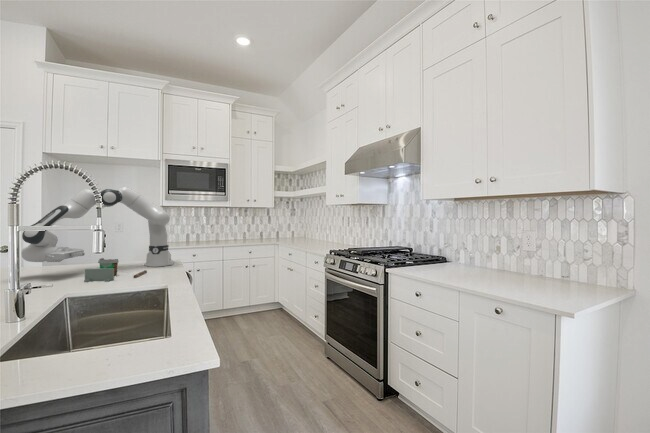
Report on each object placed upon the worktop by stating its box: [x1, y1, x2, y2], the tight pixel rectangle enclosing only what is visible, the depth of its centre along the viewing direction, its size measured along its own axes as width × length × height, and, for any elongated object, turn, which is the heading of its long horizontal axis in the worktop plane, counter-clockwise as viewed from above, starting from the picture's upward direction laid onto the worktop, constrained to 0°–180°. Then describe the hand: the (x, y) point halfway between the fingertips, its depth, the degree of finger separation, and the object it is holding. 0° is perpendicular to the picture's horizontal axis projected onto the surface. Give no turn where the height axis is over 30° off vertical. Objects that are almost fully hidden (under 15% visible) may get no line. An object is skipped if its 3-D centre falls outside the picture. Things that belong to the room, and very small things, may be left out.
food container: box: [97, 257, 119, 277], centre depth 187 cm, size 12×6×10 cm, turn 73°
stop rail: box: [133, 270, 148, 279], centre depth 190 cm, size 16×1×2 cm, turn 9°
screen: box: [84, 268, 115, 283], centre depth 174 cm, size 4×14×6 cm, turn 99°
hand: (83, 254), depth 185 cm, fingers closed
